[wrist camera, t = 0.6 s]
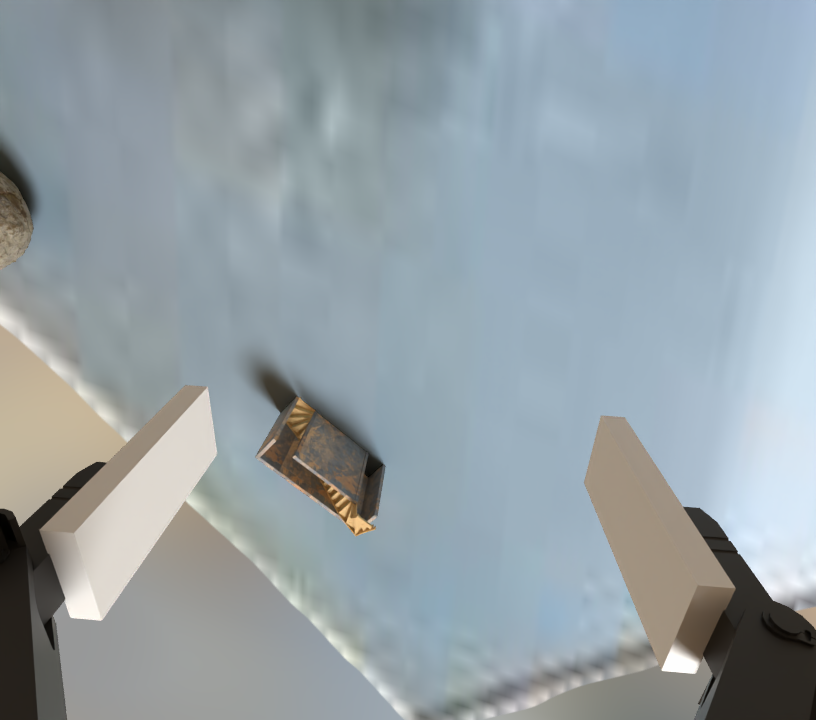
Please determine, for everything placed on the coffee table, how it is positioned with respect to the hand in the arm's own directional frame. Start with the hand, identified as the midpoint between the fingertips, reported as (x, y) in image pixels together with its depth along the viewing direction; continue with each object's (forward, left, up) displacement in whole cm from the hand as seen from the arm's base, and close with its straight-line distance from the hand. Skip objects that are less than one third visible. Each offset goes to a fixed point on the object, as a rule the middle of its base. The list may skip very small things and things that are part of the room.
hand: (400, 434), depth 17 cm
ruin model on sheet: (+18, -7, -27) cm, 33 cm away
